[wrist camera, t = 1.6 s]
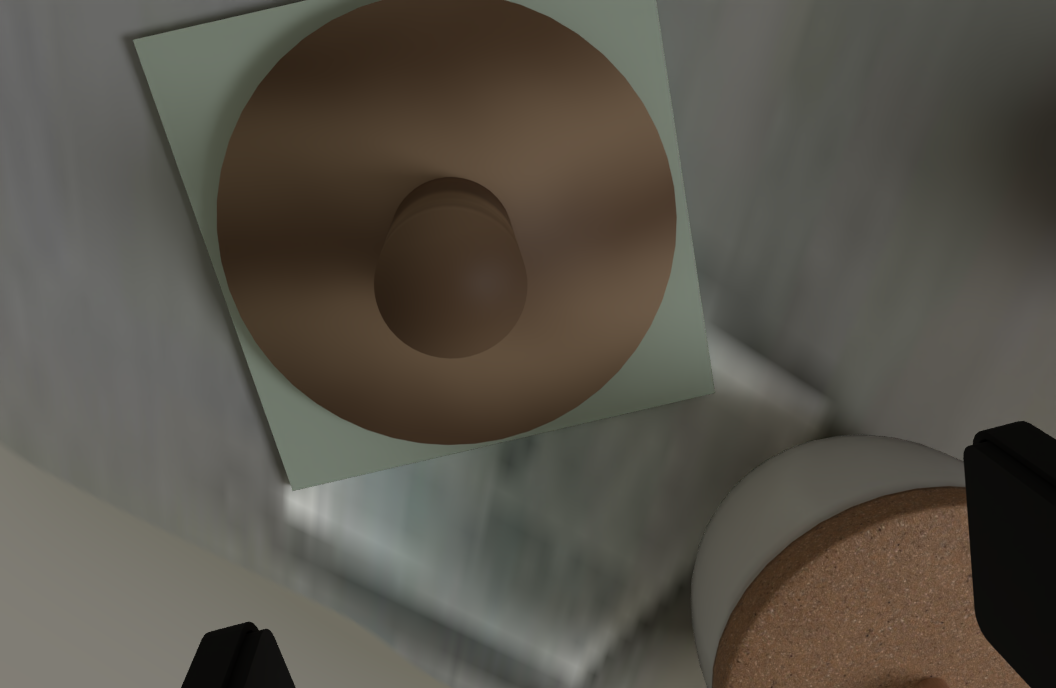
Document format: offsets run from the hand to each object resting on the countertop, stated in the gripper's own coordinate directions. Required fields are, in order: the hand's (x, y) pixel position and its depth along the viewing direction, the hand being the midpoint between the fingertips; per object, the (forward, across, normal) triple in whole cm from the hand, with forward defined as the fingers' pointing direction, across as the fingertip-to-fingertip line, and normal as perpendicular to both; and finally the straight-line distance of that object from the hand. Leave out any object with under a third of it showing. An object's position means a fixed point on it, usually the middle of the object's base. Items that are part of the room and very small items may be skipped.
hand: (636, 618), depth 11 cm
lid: (+19, +2, -2) cm, 19 cm away
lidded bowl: (+20, -9, +13) cm, 25 cm away
